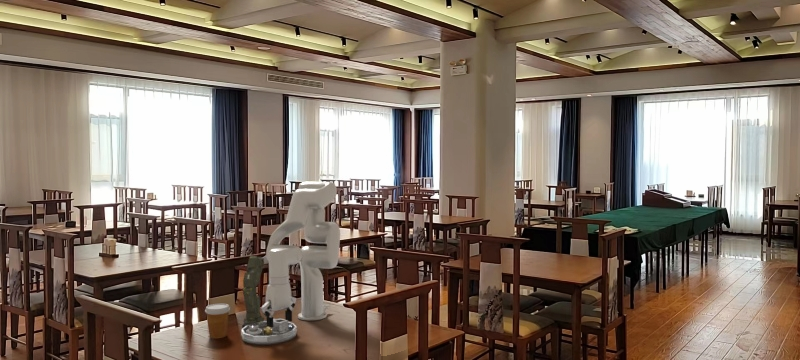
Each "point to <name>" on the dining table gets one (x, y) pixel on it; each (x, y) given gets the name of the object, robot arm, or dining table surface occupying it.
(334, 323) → the dining table surface
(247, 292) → the mechanical leg
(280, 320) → the grey hollow boxy piece
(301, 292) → the robot arm
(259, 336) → the tray
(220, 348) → the dining table surface
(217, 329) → the disposable coffee cup
